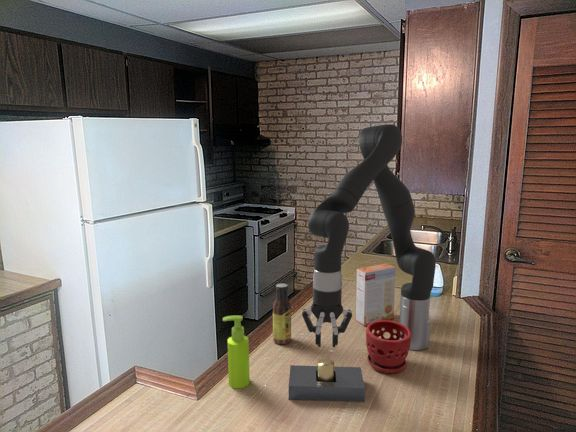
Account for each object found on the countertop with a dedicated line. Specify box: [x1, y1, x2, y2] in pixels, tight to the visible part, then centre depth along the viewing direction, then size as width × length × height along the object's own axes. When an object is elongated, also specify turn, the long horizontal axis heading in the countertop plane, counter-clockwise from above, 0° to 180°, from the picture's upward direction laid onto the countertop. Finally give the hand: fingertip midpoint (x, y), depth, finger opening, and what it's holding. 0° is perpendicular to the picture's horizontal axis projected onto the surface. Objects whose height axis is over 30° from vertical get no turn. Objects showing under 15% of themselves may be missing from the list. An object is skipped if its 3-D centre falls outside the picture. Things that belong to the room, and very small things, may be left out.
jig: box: [288, 364, 366, 403], centre depth 114 cm, size 20×10×4 cm, turn 87°
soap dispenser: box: [222, 314, 251, 389], centre depth 116 cm, size 6×7×20 cm
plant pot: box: [365, 320, 411, 374], centre depth 125 cm, size 13×13×12 cm
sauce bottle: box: [272, 283, 292, 345], centre depth 139 cm, size 7×6×20 cm
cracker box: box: [355, 263, 397, 327], centre depth 155 cm, size 14×6×21 cm, turn 115°
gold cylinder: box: [317, 358, 335, 382], centre depth 113 cm, size 4×4×8 cm
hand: (326, 345), depth 112 cm, fingers open, 3 cm apart
